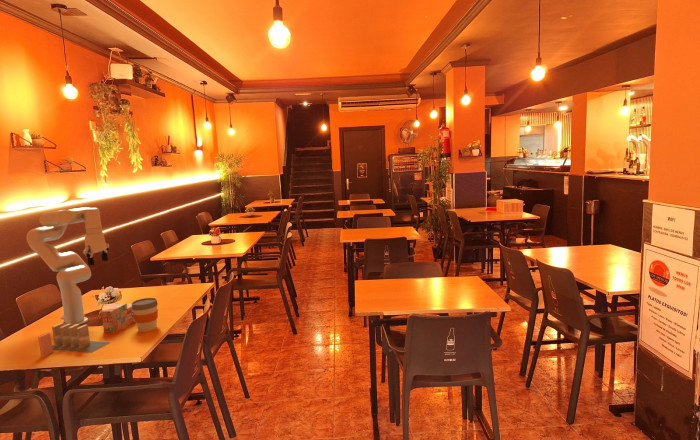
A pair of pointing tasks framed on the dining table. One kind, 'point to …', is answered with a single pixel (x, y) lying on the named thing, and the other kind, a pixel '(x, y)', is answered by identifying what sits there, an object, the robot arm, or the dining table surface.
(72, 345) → the cream domino
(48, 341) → the terracotta domino
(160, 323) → the dining table surface
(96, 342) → the slate mat
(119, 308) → the stack of blocks
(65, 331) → the cream domino
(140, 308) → the reusable coffee cup
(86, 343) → the cream domino
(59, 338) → the cream domino
